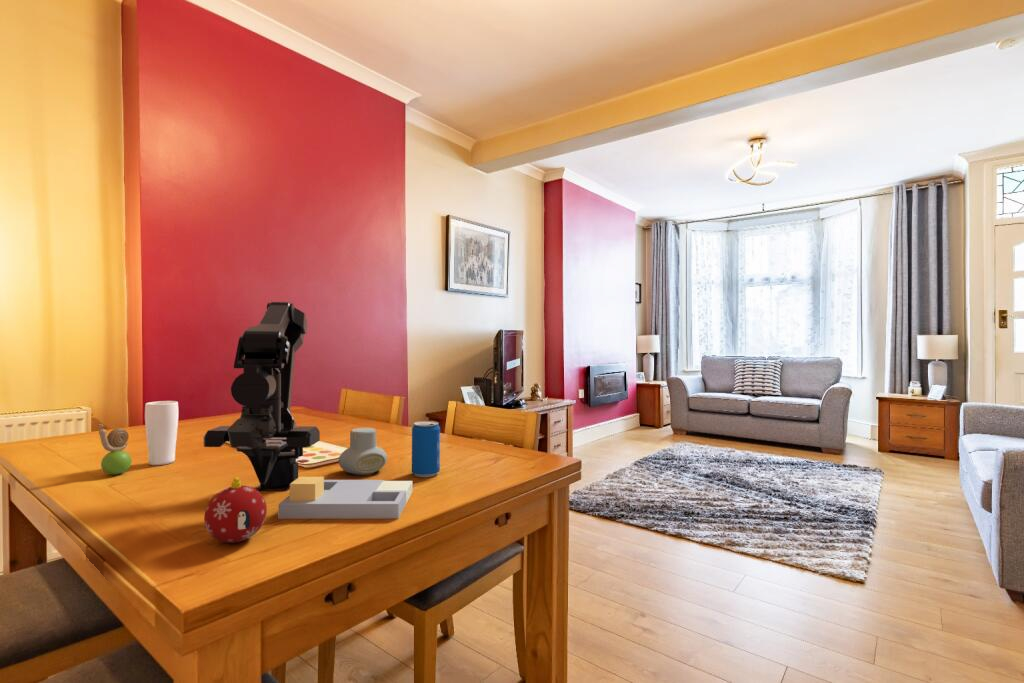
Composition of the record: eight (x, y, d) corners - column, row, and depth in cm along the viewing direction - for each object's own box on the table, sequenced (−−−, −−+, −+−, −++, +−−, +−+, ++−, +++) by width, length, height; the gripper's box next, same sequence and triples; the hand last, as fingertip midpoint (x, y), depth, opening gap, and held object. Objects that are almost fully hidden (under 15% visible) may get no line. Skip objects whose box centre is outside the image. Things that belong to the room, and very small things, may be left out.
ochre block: (289, 500, 89) (289, 483, 89) (299, 492, 94) (299, 476, 94) (315, 500, 89) (315, 484, 89) (323, 492, 94) (323, 476, 94)
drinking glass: (151, 460, 125) (151, 401, 125) (182, 458, 127) (182, 400, 127) (140, 467, 118) (140, 405, 118) (173, 465, 120) (173, 404, 120)
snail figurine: (90, 477, 110) (89, 423, 110) (119, 470, 116) (119, 419, 116) (109, 479, 109) (108, 425, 108) (137, 472, 115) (137, 420, 115)
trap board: (278, 518, 88) (278, 503, 88) (310, 491, 103) (310, 478, 103) (398, 518, 88) (398, 503, 88) (412, 491, 103) (412, 478, 103)
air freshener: (346, 480, 111) (347, 435, 110) (333, 471, 117) (333, 429, 117) (392, 472, 118) (392, 429, 117) (377, 464, 124) (377, 424, 124)
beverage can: (433, 479, 112) (434, 426, 112) (407, 477, 113) (407, 424, 113) (443, 471, 118) (444, 421, 118) (418, 469, 120) (418, 419, 119)
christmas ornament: (260, 525, 84) (260, 467, 84) (271, 543, 78) (272, 479, 77) (201, 538, 79) (201, 475, 79) (207, 558, 72) (207, 489, 72)
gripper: (184, 404, 83) (184, 497, 83) (297, 405, 83) (297, 497, 84) (220, 395, 94) (220, 477, 94) (320, 396, 95) (320, 478, 95)
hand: (263, 482), depth 91 cm, fingers closed
